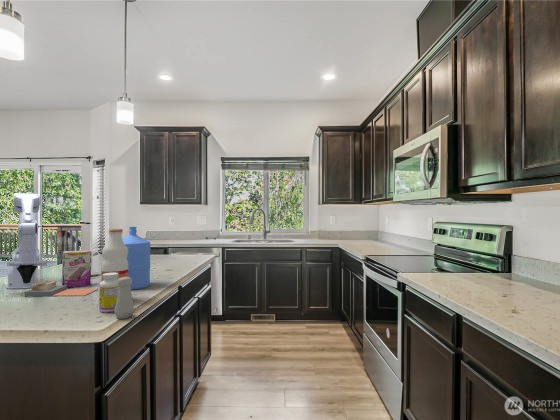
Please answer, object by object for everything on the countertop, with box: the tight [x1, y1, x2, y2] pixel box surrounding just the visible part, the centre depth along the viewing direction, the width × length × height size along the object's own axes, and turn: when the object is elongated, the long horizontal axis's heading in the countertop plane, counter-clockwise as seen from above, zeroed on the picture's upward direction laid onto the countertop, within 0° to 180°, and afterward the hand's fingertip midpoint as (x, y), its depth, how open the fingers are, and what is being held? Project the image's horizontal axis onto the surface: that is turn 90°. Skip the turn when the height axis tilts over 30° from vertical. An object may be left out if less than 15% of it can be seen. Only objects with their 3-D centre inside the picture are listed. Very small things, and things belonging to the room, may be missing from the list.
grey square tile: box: [24, 284, 68, 298], centre depth 132 cm, size 10×11×2 cm
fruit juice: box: [100, 228, 128, 283], centre depth 122 cm, size 9×9×28 cm
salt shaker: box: [114, 277, 135, 320], centre depth 102 cm, size 6×6×13 cm
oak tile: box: [31, 280, 57, 290], centre depth 132 cm, size 6×6×2 cm
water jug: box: [122, 226, 151, 291], centre depth 145 cm, size 16×16×28 cm
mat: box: [51, 288, 99, 297], centre depth 133 cm, size 13×11×1 cm
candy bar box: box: [61, 250, 93, 289], centre depth 145 cm, size 11×5×16 cm, turn 130°
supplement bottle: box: [98, 273, 120, 313], centre depth 110 cm, size 7×7×13 cm
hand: (26, 283), depth 131 cm, fingers closed
